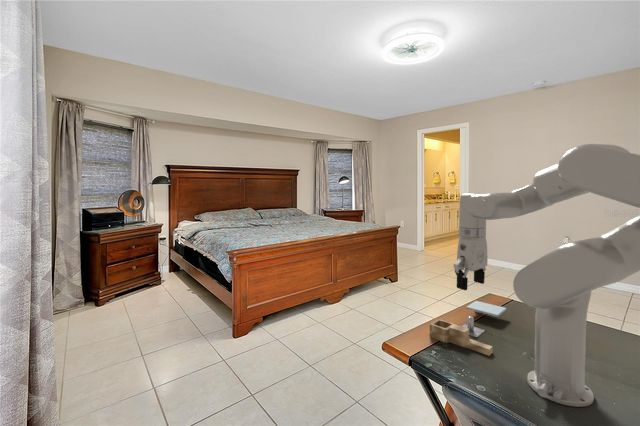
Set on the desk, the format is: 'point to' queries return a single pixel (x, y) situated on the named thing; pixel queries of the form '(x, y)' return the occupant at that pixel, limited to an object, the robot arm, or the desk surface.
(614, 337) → the desk surface
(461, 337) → the link
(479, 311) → the plate
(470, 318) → the pintle
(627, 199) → the robot arm
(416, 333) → the desk surface
